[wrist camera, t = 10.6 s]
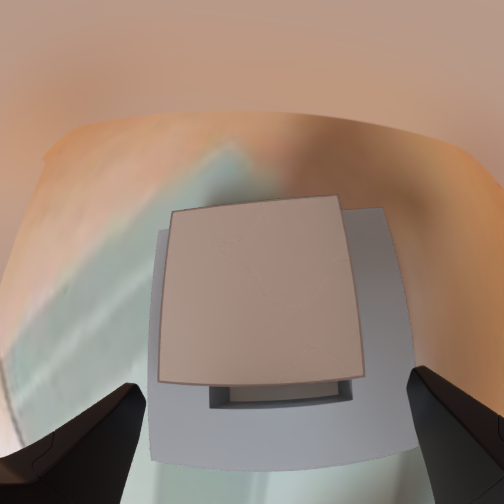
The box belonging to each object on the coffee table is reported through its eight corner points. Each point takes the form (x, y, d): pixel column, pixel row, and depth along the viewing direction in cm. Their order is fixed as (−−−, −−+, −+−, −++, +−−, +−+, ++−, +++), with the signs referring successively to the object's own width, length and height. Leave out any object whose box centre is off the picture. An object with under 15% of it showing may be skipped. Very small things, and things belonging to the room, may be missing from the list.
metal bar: (315, 375, 16) (365, 377, 4) (251, 379, 17) (157, 382, 5) (311, 315, 18) (338, 194, 6) (250, 319, 18) (171, 211, 7)
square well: (388, 432, 14) (417, 447, 9) (184, 443, 15) (151, 460, 11) (366, 244, 20) (382, 207, 15) (185, 261, 21) (158, 230, 17)
